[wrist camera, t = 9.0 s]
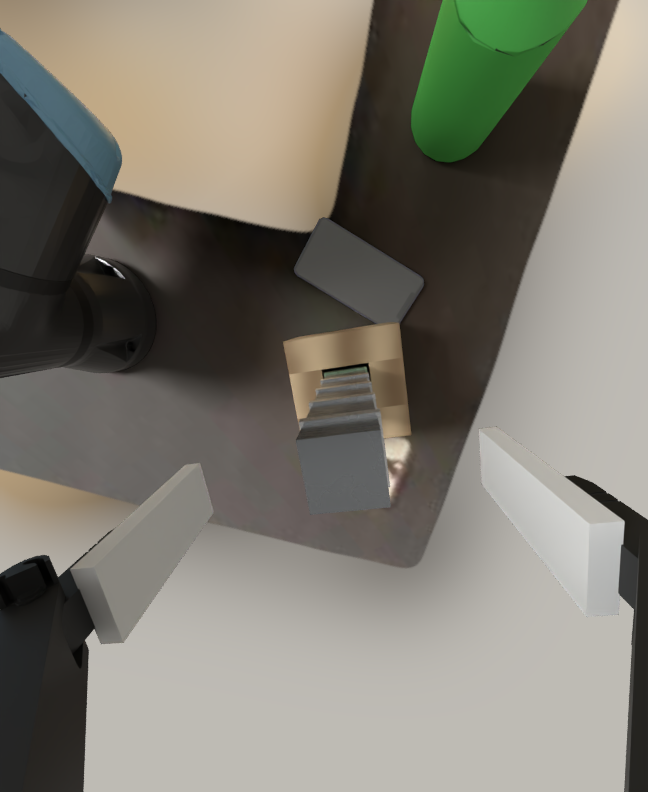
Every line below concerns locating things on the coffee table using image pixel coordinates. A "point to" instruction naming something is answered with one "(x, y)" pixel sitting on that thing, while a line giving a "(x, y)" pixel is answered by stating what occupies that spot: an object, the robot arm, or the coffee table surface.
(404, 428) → the housing
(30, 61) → the robot arm
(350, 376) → the column
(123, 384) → the coffee table surface
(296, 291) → the coffee table surface
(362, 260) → the smartphone
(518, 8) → the bottle
